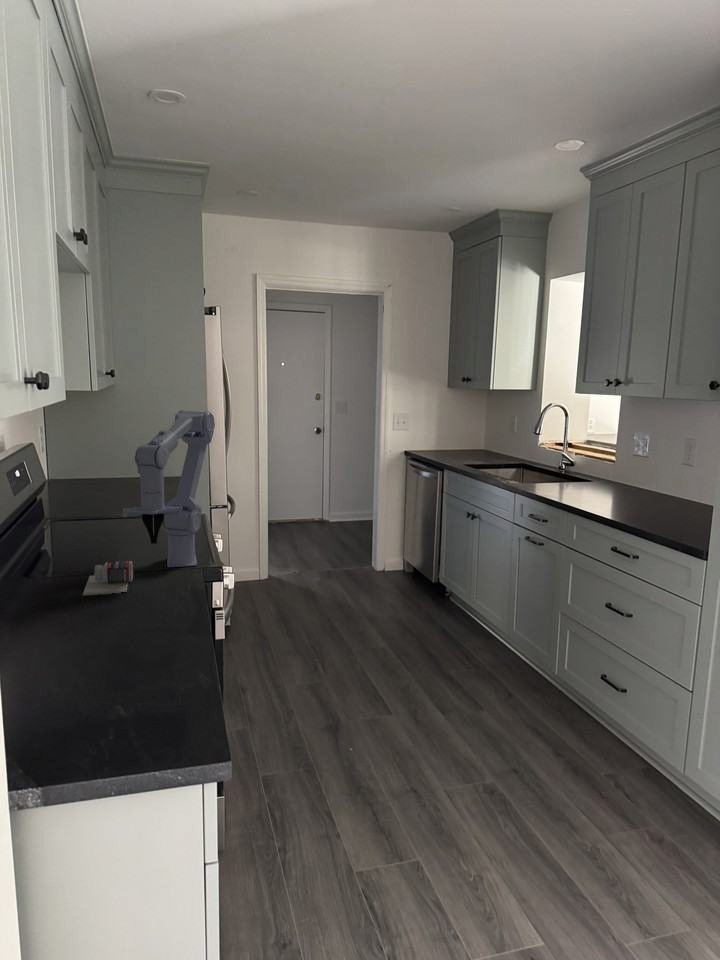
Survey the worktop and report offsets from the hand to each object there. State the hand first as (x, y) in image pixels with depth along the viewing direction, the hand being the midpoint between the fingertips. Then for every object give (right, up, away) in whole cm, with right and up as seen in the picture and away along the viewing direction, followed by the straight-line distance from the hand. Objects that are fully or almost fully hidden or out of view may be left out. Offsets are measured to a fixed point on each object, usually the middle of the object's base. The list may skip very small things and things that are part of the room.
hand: (154, 542), depth 168 cm
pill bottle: (-5, -7, -1) cm, 9 cm away
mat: (-11, -10, -3) cm, 15 cm away
